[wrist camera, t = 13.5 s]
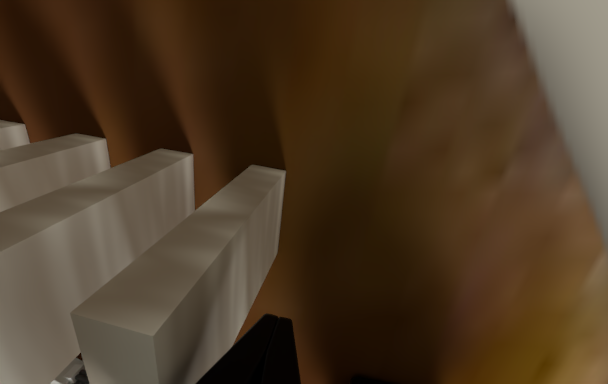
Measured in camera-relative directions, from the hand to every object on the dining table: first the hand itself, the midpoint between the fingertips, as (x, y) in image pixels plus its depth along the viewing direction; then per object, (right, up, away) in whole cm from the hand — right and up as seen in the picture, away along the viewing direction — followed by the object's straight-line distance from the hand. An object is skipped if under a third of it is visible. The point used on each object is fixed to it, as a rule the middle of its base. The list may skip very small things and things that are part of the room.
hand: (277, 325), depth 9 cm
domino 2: (-6, +4, +7) cm, 10 cm away
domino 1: (-1, +3, +7) cm, 8 cm away
